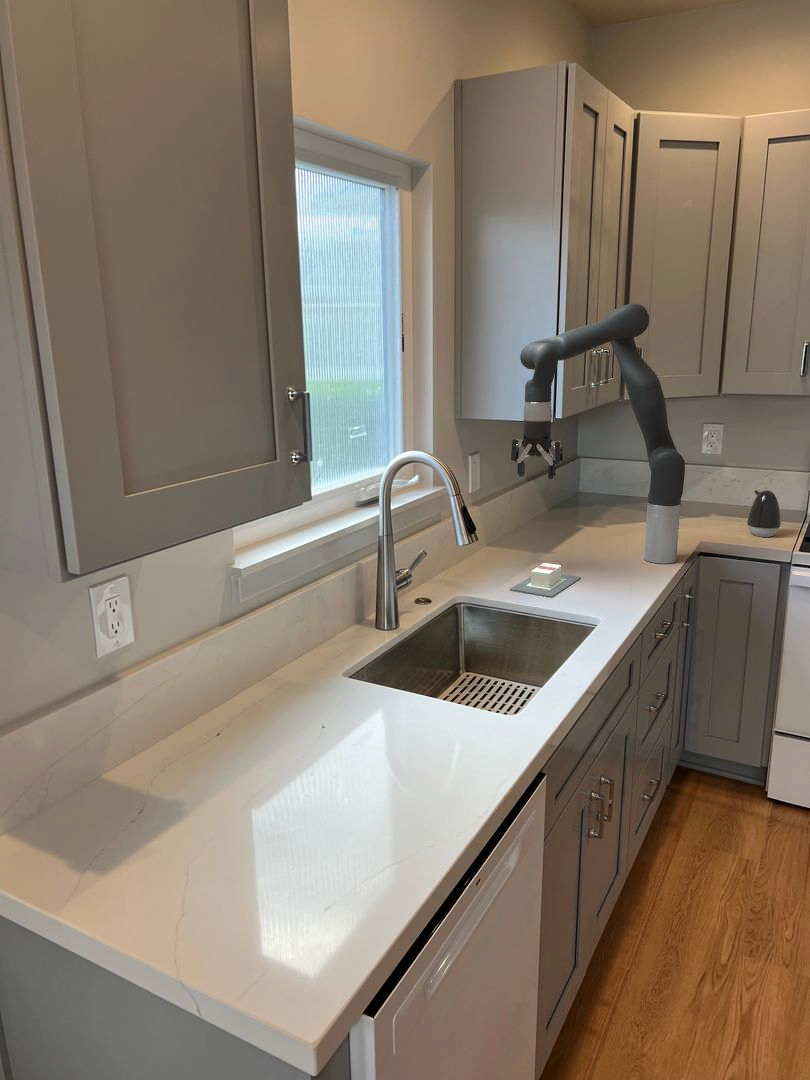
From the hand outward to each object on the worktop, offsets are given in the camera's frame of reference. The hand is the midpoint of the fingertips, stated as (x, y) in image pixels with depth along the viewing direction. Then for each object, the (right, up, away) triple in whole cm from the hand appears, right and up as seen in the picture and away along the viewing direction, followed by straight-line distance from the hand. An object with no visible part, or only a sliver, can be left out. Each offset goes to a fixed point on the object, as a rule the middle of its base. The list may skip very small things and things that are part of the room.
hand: (536, 477), depth 219 cm
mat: (+2, -29, -4) cm, 30 cm away
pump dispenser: (+83, -16, +46) cm, 96 cm away
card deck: (+2, -29, -4) cm, 29 cm away
